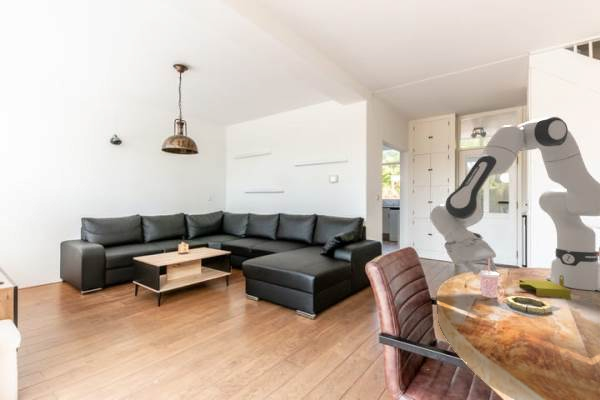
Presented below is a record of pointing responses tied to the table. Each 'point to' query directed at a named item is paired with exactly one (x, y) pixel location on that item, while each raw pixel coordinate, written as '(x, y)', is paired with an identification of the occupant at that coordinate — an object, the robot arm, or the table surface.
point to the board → (523, 311)
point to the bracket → (547, 288)
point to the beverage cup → (489, 282)
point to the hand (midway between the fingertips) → (486, 272)
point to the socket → (543, 309)
